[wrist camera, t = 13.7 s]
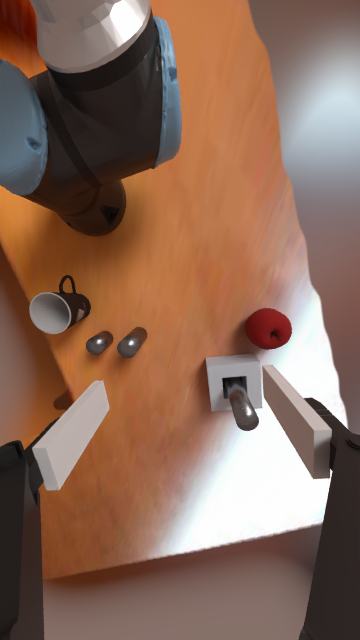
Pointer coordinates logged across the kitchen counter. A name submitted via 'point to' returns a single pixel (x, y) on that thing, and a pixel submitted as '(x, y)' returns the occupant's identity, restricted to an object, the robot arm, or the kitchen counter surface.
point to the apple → (268, 328)
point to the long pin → (240, 404)
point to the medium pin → (132, 342)
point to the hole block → (233, 368)
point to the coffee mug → (58, 309)
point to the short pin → (99, 342)
